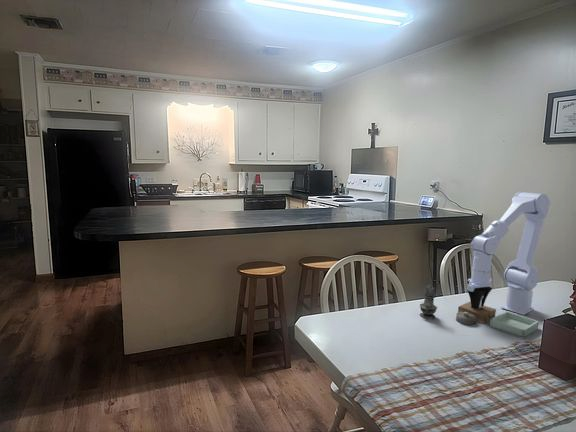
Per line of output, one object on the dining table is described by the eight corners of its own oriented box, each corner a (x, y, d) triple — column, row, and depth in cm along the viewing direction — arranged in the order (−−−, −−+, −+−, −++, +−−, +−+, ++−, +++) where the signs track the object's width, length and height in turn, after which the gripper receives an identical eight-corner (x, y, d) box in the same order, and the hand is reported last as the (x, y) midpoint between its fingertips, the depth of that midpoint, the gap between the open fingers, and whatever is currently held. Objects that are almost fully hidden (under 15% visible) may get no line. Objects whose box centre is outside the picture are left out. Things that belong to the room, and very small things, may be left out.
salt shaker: (437, 320, 128) (441, 286, 127) (420, 318, 130) (422, 285, 128) (434, 313, 134) (437, 281, 132) (417, 312, 135) (420, 280, 134)
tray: (505, 317, 132) (506, 311, 132) (538, 328, 124) (539, 321, 124) (489, 326, 125) (490, 319, 124) (523, 338, 117) (524, 330, 116)
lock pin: (473, 313, 136) (476, 292, 134) (482, 316, 133) (485, 294, 132) (469, 315, 134) (471, 294, 132) (478, 318, 131) (481, 296, 130)
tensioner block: (469, 308, 140) (470, 301, 139) (495, 317, 133) (496, 309, 132) (448, 318, 130) (449, 310, 130) (474, 328, 123) (475, 319, 123)
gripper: (479, 264, 138) (475, 299, 140) (459, 270, 129) (456, 307, 131) (499, 268, 133) (495, 305, 135) (480, 275, 124) (476, 314, 126)
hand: (477, 306), depth 133 cm, fingers closed on lock pin, 3 cm apart
